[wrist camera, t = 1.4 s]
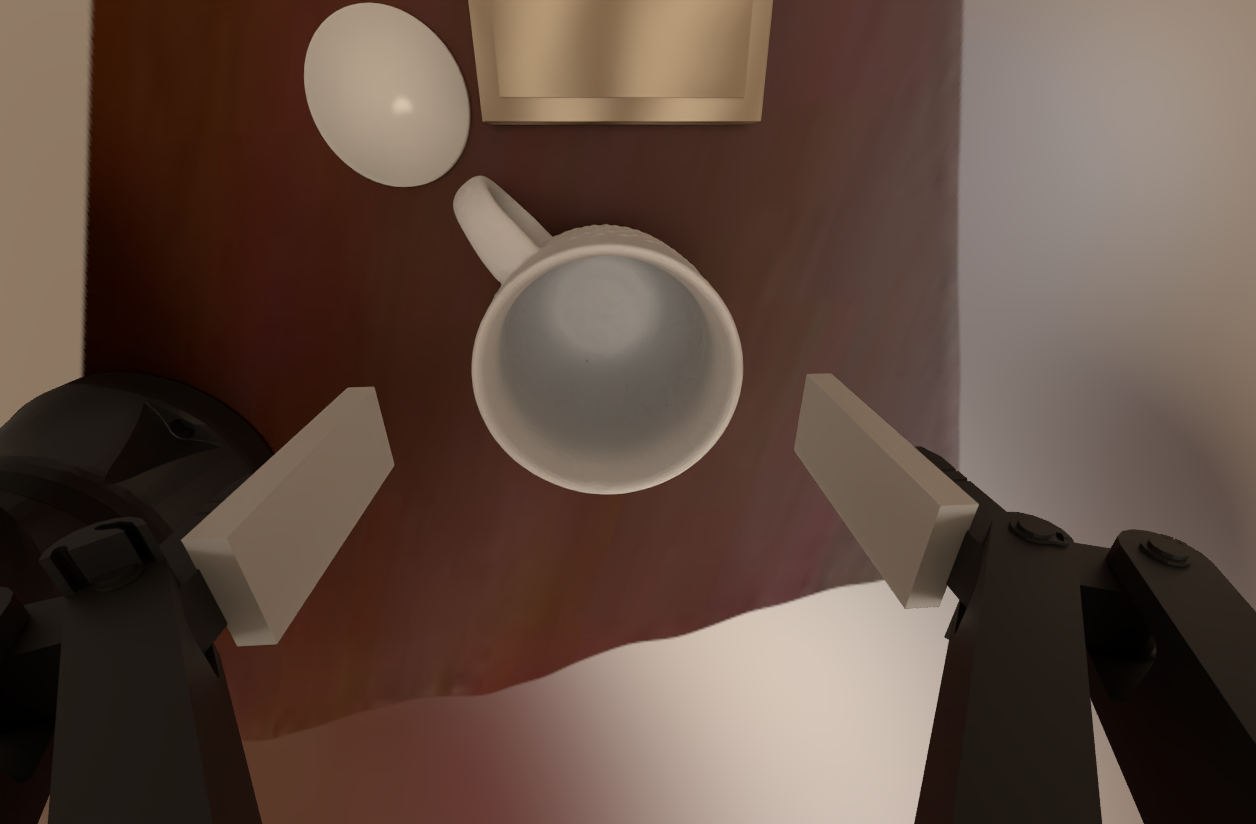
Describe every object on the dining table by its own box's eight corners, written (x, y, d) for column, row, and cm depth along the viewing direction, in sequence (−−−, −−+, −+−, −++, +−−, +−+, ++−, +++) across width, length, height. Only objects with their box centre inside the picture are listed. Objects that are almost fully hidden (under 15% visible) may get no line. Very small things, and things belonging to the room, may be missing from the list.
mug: (426, 248, 29) (318, 304, 18) (560, 105, 26) (537, 60, 15) (597, 412, 35) (601, 537, 23) (722, 309, 32) (798, 391, 20)
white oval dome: (337, 187, 28) (329, 187, 27) (293, 8, 24) (282, 2, 23) (481, 185, 28) (478, 186, 27) (459, 9, 25) (454, 3, 24)
